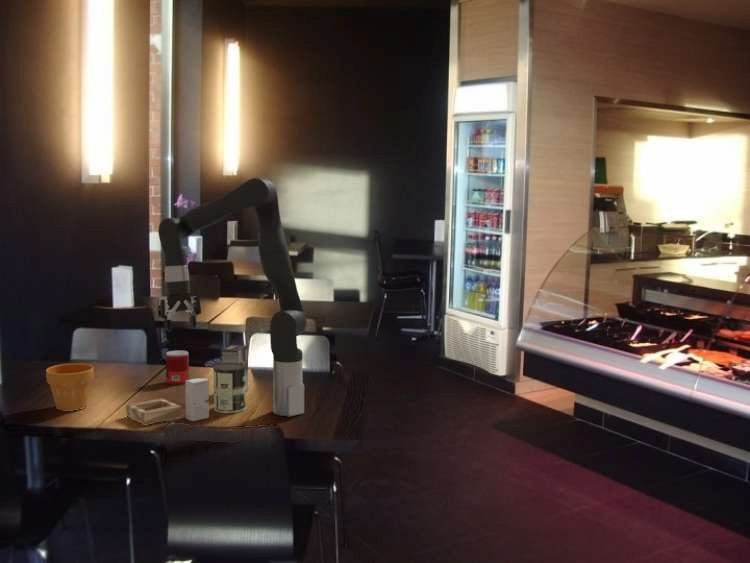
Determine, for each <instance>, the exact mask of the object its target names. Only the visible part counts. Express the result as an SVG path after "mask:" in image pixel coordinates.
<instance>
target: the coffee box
mask: <svg viewBox="0 0 750 563" xmlns="http://www.w3.org/2000/svg"><path fill="white" fill-rule="evenodd" d="M248 349H249V346H248V345H242V344H230V345H228V346H227V347H225V348H223V349H221V350H220V351H221V364H222V363H240V364H244V365H245V366H246V369H245V393H246V392H248V391H249V350H248Z"/></svg>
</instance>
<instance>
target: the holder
mask: <svg viewBox="0 0 750 563" xmlns="http://www.w3.org/2000/svg"><path fill="white" fill-rule="evenodd" d="M125 407H126V417H127V416H129V417H131V418H134V419H136V420H138V421H140V422H142V423H144V424H149V423H155V422H160V421H161V423H163V422H162V421H166V422H169V421H170V422H171V421H174V420H179V419H182V406H181V405H179V404H176V403H174V402H172V401H169V400H167V399H165V398H162V397H160V398H156V399H155V398H154V399H150V400H146V401H139V402H134V403H130V404H126V405H125Z"/></svg>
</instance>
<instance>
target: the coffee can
mask: <svg viewBox="0 0 750 563" xmlns="http://www.w3.org/2000/svg"><path fill="white" fill-rule="evenodd" d="M245 369H246V366H245V365H244V364H240V363H222V362H221V363H219V364H215V365H213V366H212V370H213V411H214V412H216V413H220V414H236V413H242V412H244V411H245V410H246V406H247V405H246V403H247V402H246V399H247V398H246V392H245Z"/></svg>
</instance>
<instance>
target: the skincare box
mask: <svg viewBox="0 0 750 563" xmlns="http://www.w3.org/2000/svg"><path fill="white" fill-rule="evenodd" d="M209 382H210V380H209V379H207V378H204V377H197V378H192V379H189V380H186V384H185V418H186V419H187V420H188V421H191V422H196V421H201V420H204V419H208V418H210V385H209V384H210V383H209Z"/></svg>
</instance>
